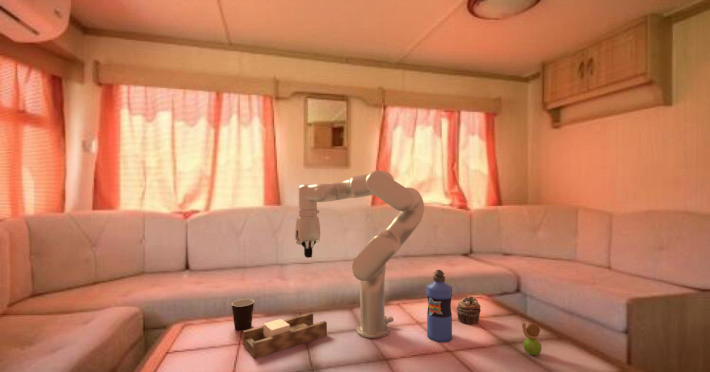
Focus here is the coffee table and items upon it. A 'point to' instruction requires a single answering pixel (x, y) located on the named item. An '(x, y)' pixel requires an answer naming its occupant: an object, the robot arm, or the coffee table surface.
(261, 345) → the box
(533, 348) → the snail figurine
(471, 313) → the cupcake
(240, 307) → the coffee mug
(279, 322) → the cream block
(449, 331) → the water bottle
